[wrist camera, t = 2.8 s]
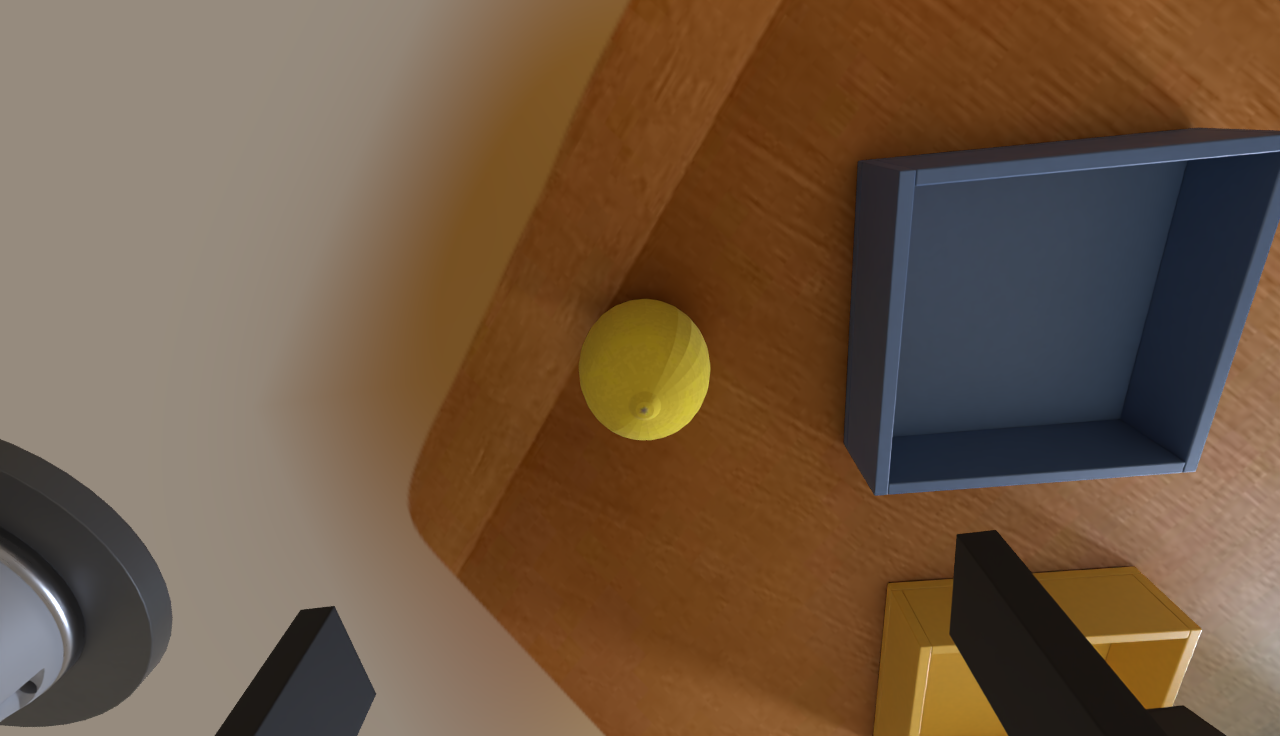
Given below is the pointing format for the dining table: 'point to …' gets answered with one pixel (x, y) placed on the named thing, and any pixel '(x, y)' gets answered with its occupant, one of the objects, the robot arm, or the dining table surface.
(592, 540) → the dining table surface
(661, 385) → the lemon
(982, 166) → the blue bin
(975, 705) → the yellow bin
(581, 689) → the dining table surface
